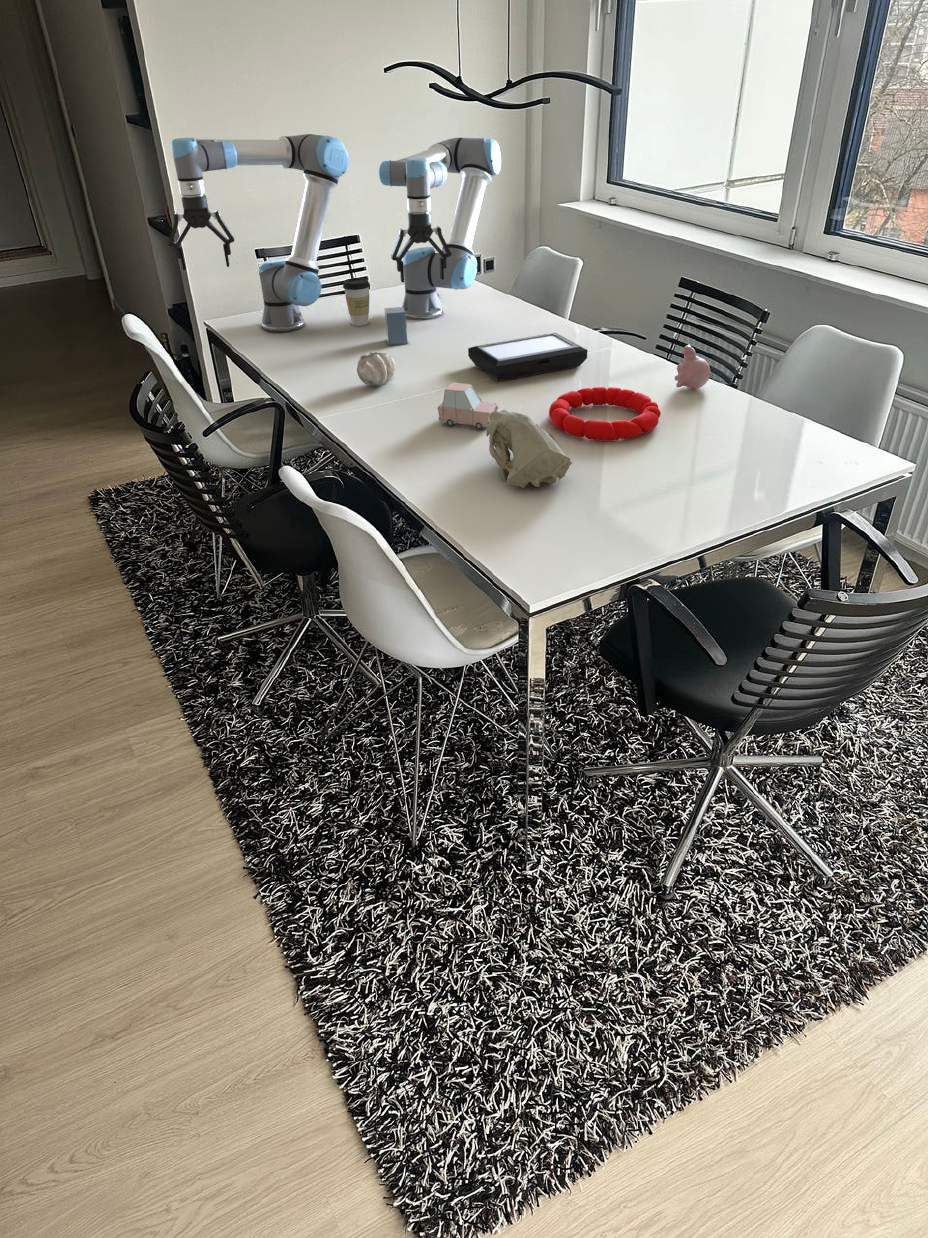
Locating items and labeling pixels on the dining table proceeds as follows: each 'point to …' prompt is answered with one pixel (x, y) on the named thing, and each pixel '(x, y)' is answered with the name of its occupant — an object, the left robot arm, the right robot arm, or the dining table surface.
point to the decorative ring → (604, 428)
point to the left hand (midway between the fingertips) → (206, 267)
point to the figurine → (692, 370)
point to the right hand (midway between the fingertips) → (422, 280)
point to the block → (395, 326)
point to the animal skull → (525, 450)
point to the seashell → (375, 368)
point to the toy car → (465, 406)
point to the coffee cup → (357, 300)
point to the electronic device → (527, 356)
